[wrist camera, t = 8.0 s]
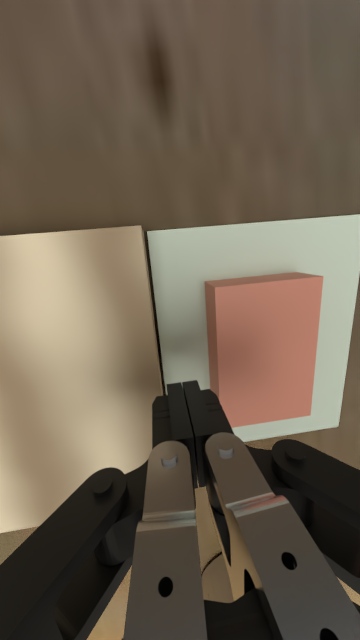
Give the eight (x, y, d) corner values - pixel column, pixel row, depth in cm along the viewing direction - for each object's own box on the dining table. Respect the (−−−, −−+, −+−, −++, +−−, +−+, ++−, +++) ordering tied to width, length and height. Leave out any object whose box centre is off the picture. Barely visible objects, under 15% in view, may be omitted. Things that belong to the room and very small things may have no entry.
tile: (214, 287, 12) (204, 281, 15) (220, 429, 15) (210, 404, 17) (323, 276, 13) (296, 272, 15) (310, 415, 15) (289, 393, 18)
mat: (362, 214, 15) (367, 213, 15) (334, 423, 20) (338, 426, 19) (147, 231, 14) (147, 231, 13) (172, 449, 19) (172, 453, 18)
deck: (143, 232, 14) (140, 225, 10) (169, 449, 19) (174, 501, 15) (-121, 253, 13) (-239, 254, 9) (-22, 480, 17) (-70, 545, 13)
